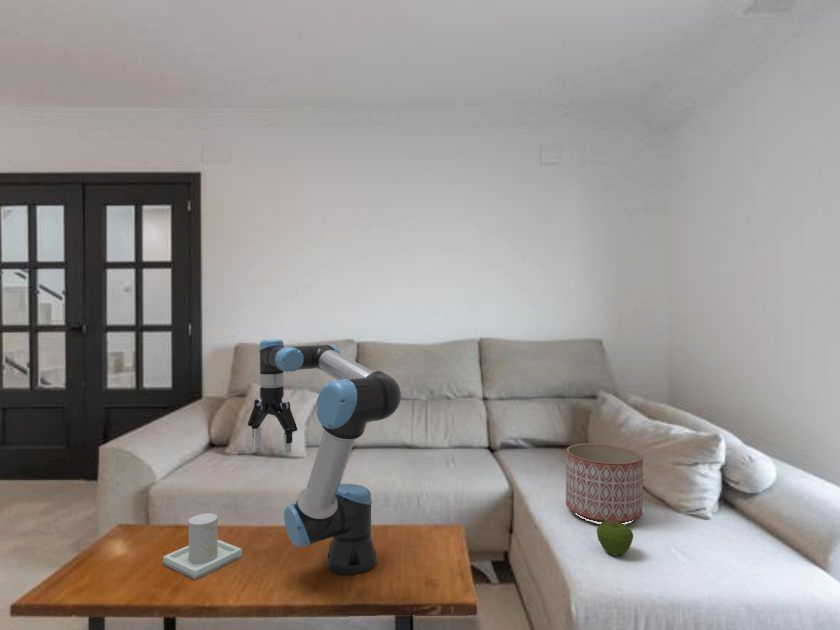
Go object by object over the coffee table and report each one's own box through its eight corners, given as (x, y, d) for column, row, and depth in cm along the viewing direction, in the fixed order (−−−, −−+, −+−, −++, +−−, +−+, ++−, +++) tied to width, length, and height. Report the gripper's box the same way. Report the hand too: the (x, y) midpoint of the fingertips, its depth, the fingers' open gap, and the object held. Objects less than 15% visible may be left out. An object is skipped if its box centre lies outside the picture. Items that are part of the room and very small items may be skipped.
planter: (647, 510, 196) (648, 449, 196) (635, 536, 173) (635, 468, 173) (576, 495, 211) (577, 439, 211) (556, 518, 188) (557, 455, 188)
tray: (241, 556, 157) (241, 548, 157) (195, 580, 144) (195, 571, 144) (209, 543, 166) (209, 536, 166) (163, 564, 152) (163, 556, 152)
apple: (591, 553, 161) (591, 522, 161) (604, 542, 169) (605, 512, 169) (625, 565, 154) (625, 532, 154) (638, 553, 161) (638, 522, 161)
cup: (206, 565, 150) (206, 525, 150) (182, 562, 152) (182, 522, 151) (222, 552, 158) (222, 514, 158) (199, 549, 160) (199, 512, 159)
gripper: (308, 387, 164) (308, 452, 164) (254, 382, 176) (254, 443, 176) (291, 390, 157) (292, 458, 157) (236, 385, 169) (236, 448, 169)
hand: (272, 450), depth 166 cm, fingers open, 13 cm apart
